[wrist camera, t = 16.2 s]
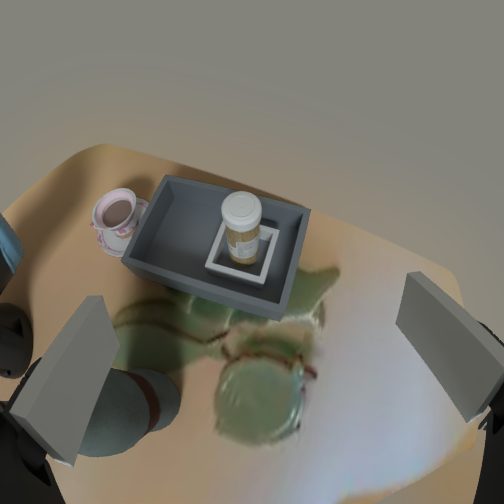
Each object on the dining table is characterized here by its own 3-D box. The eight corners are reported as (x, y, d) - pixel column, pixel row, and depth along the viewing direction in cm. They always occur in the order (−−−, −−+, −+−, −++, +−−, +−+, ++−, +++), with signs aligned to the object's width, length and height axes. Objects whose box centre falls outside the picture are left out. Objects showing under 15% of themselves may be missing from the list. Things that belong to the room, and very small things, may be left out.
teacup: (146, 189, 50) (135, 168, 44) (167, 237, 45) (156, 219, 40) (93, 218, 47) (78, 200, 41) (107, 269, 43) (90, 255, 37)
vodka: (187, 374, 36) (49, 373, 9) (182, 431, 33) (59, 522, 5) (129, 362, 37) (-37, 325, 9) (124, 417, 33) (-36, 447, 6)
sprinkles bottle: (227, 243, 44) (218, 192, 31) (256, 238, 44) (257, 186, 32) (231, 270, 42) (223, 226, 30) (261, 265, 42) (265, 220, 30)
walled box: (135, 274, 42) (120, 261, 37) (173, 195, 49) (165, 174, 43) (279, 321, 40) (284, 313, 34) (304, 228, 46) (311, 209, 40)
